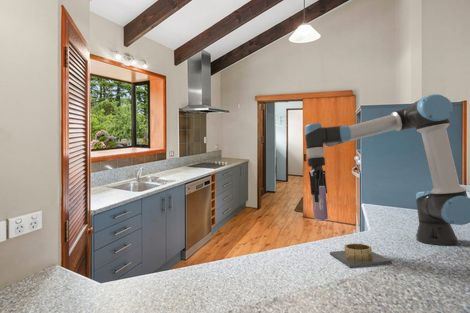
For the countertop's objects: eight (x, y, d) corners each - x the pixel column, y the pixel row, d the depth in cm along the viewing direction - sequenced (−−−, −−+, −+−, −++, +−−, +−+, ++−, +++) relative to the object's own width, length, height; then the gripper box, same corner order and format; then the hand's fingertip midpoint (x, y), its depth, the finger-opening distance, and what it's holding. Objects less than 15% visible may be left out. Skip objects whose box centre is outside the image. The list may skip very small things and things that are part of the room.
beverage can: (328, 218, 117) (325, 185, 118) (328, 220, 111) (325, 186, 113) (314, 218, 119) (311, 186, 120) (313, 220, 113) (311, 186, 114)
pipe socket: (366, 251, 110) (365, 240, 110) (391, 263, 94) (390, 250, 94) (330, 254, 108) (329, 243, 109) (350, 267, 92) (348, 254, 93)
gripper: (316, 158, 127) (320, 206, 125) (299, 158, 113) (304, 211, 111) (331, 156, 122) (336, 206, 120) (315, 156, 108) (321, 211, 106)
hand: (321, 208), depth 116 cm, fingers closed on beverage can, 5 cm apart
